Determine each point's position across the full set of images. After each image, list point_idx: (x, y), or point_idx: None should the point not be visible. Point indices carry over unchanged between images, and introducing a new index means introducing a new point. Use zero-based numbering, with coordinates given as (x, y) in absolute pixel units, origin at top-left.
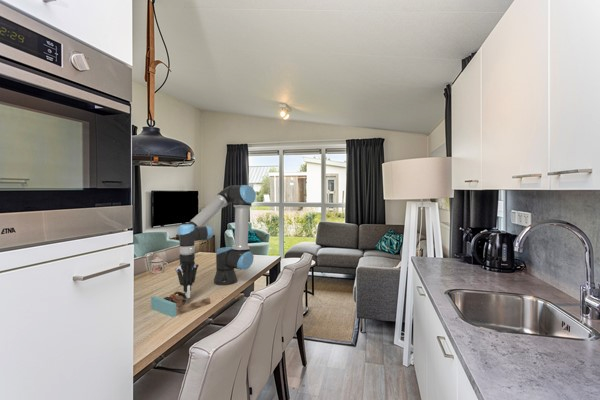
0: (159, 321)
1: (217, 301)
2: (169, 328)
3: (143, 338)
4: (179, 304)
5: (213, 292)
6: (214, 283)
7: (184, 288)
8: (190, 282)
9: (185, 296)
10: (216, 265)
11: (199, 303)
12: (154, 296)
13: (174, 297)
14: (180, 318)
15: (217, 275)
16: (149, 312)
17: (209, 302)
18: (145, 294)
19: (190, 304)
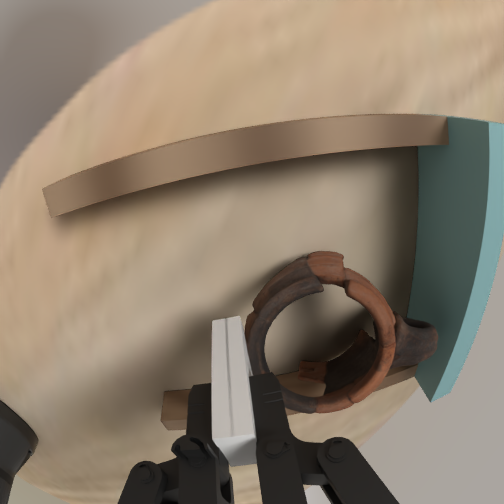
0: None
1: (16, 188)
2: (479, 5)
3: None
4: (341, 260)
5: (27, 363)
6: (33, 432)
7: (286, 415)
8: (202, 478)
9: (262, 339)
10: (7, 492)
11: (175, 143)
12: (438, 395)
13: (391, 328)
14: (411, 47)
15: (9, 452)
16: None
17: (69, 176)
18: None
19: (299, 129)
